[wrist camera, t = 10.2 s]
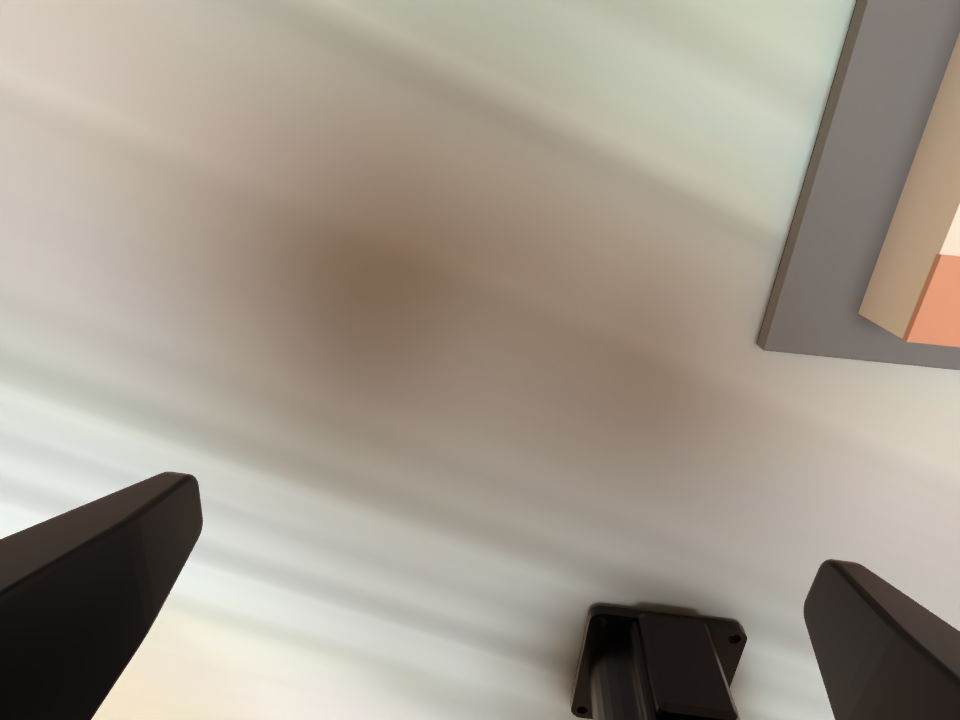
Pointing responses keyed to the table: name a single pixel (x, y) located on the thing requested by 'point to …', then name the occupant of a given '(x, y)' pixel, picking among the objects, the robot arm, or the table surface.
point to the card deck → (925, 234)
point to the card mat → (861, 185)
